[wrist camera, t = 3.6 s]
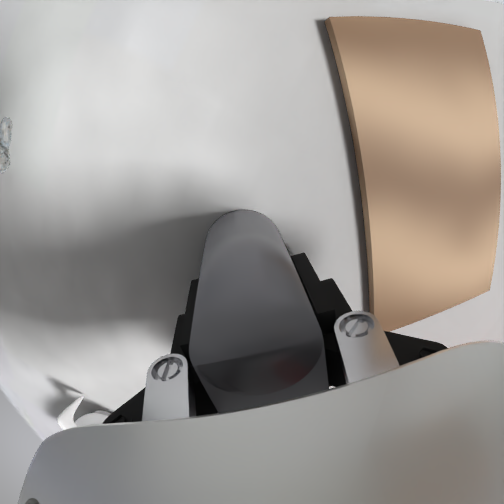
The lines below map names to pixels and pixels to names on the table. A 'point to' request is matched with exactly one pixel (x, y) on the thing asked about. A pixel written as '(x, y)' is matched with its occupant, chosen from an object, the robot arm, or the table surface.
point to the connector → (253, 319)
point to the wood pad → (421, 160)
